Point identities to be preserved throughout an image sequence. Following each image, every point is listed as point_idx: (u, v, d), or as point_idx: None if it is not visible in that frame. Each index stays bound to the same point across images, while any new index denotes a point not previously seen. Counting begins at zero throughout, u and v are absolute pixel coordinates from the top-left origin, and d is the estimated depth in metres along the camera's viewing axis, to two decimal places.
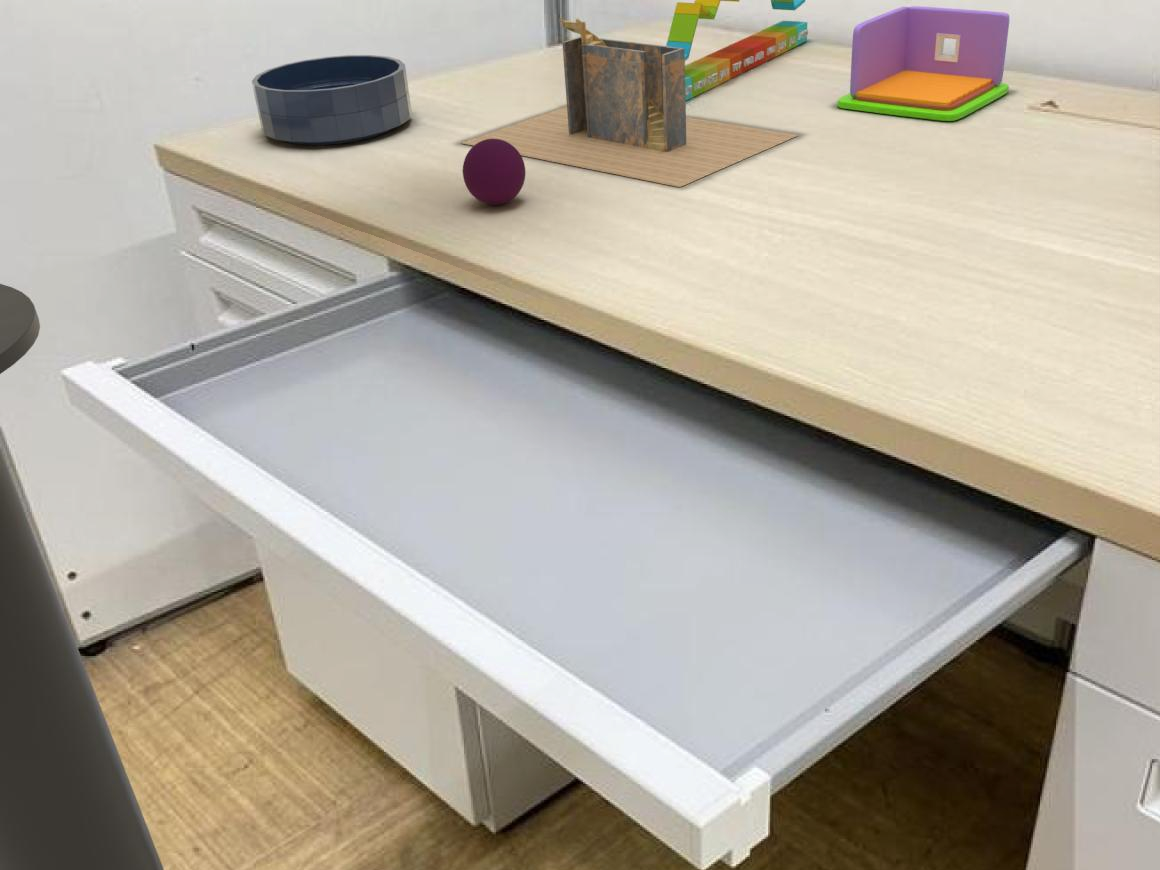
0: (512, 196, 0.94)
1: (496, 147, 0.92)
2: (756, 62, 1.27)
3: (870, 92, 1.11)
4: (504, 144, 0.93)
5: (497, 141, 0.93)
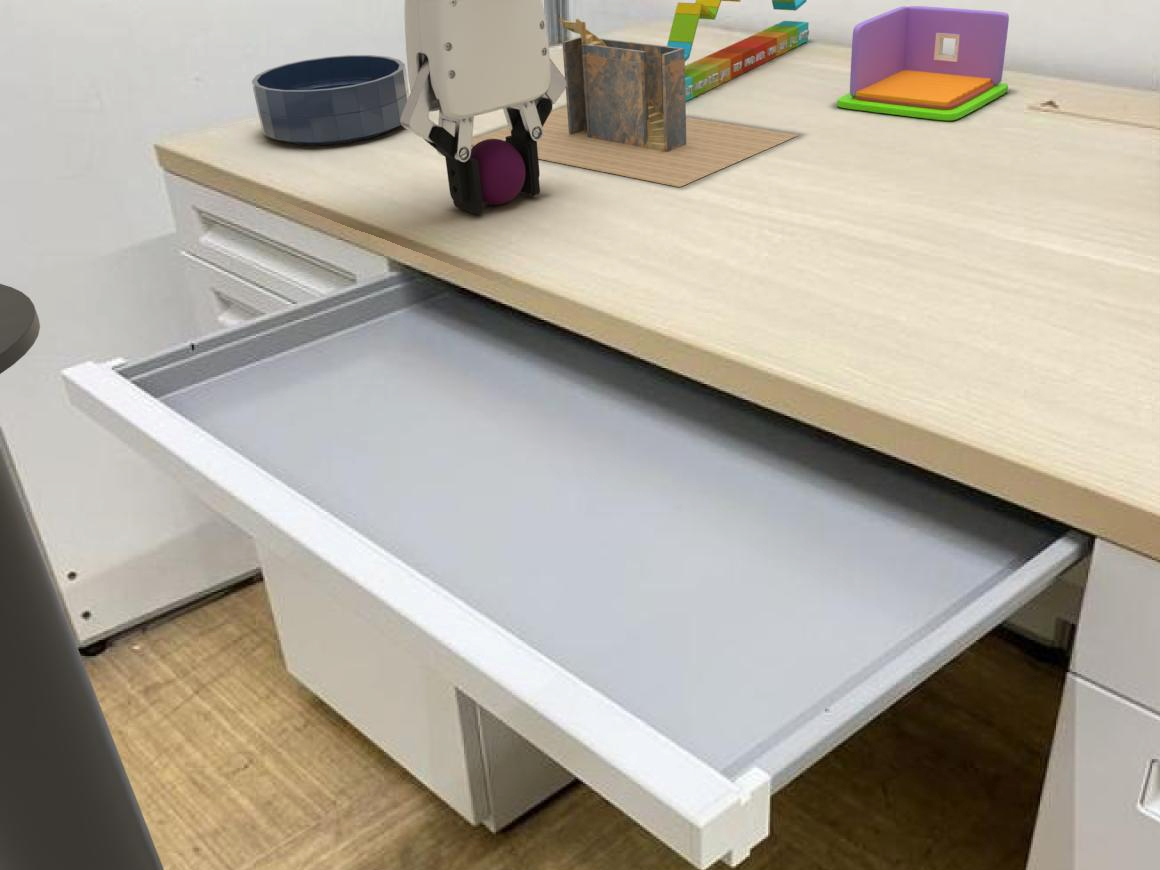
0: (512, 196, 0.94)
1: (497, 148, 0.92)
2: (757, 62, 1.27)
3: (870, 92, 1.11)
4: (504, 144, 0.93)
5: (497, 141, 0.93)
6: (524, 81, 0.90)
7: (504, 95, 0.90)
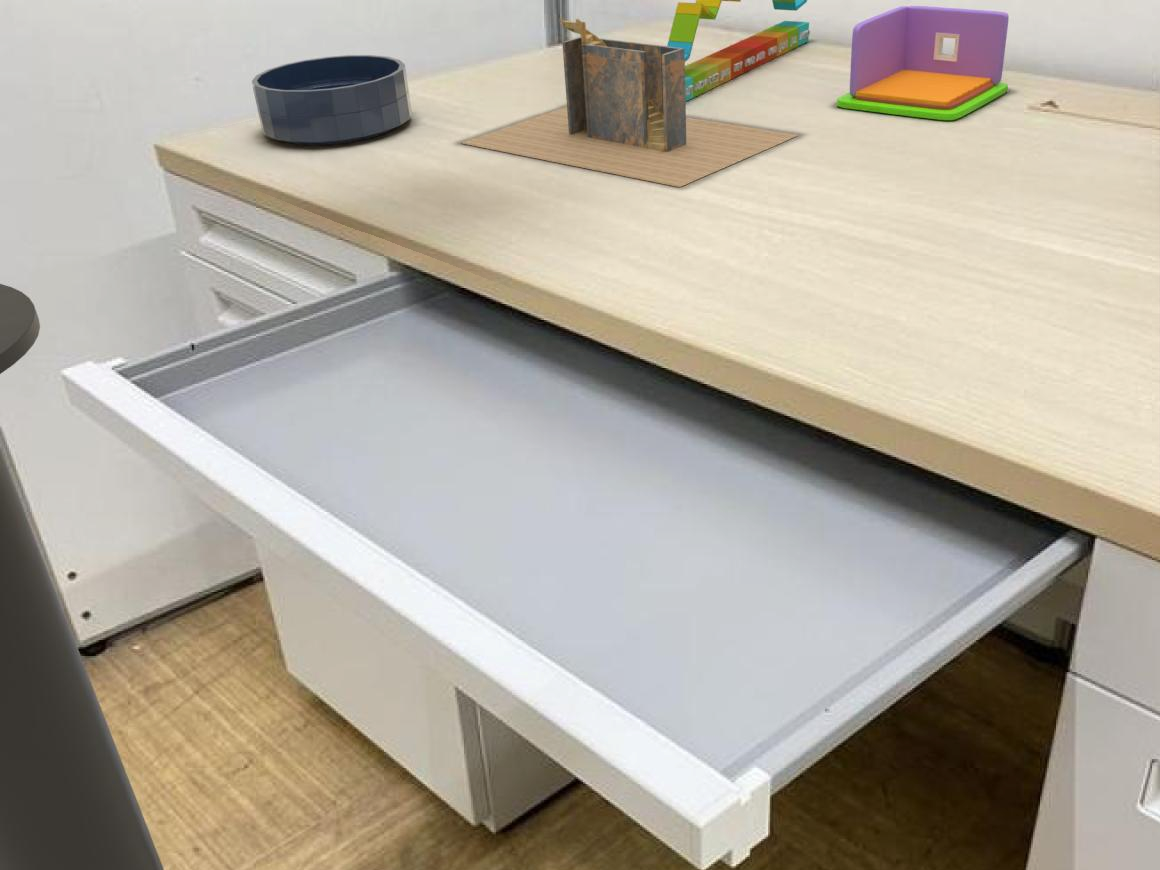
0: None
1: None
2: (758, 62, 1.27)
3: (870, 91, 1.11)
4: None
5: None
6: None
7: None
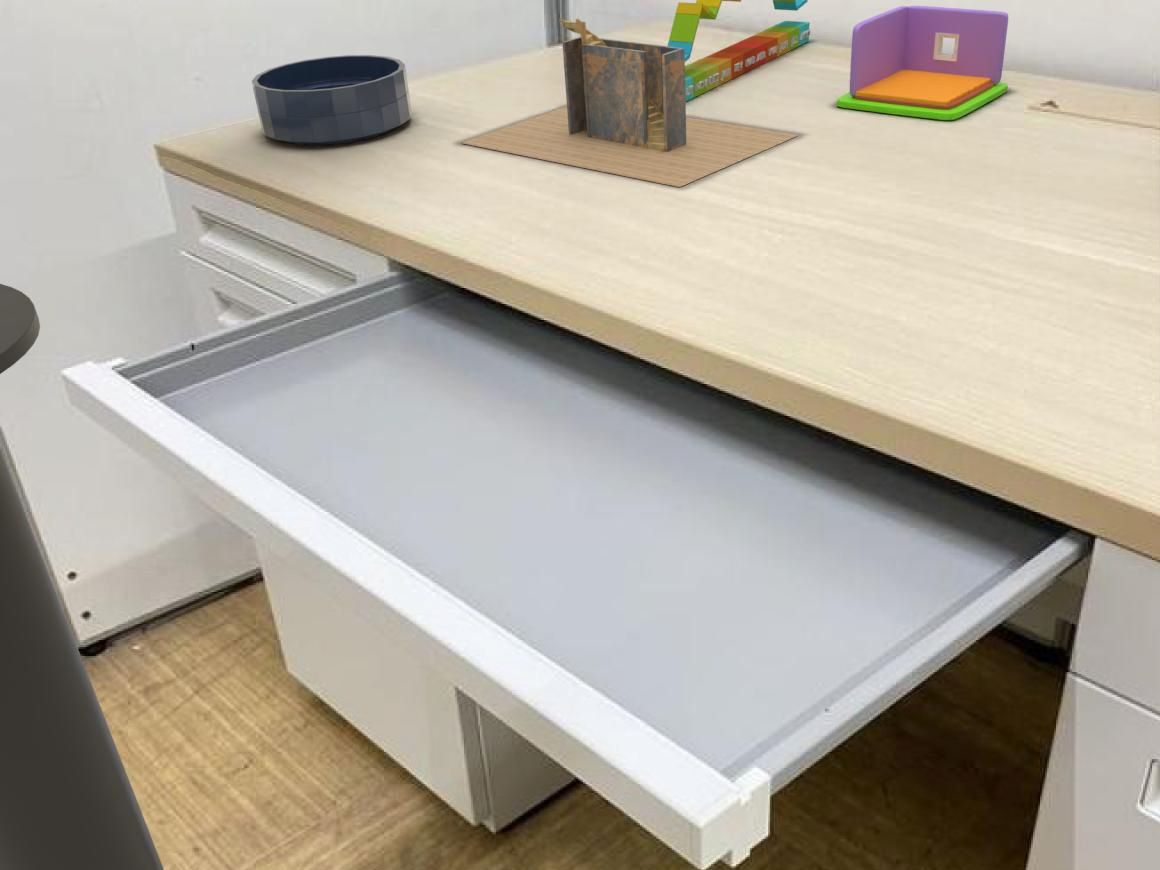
0: None
1: None
2: (758, 62, 1.27)
3: (869, 91, 1.11)
4: None
5: None
6: None
7: None
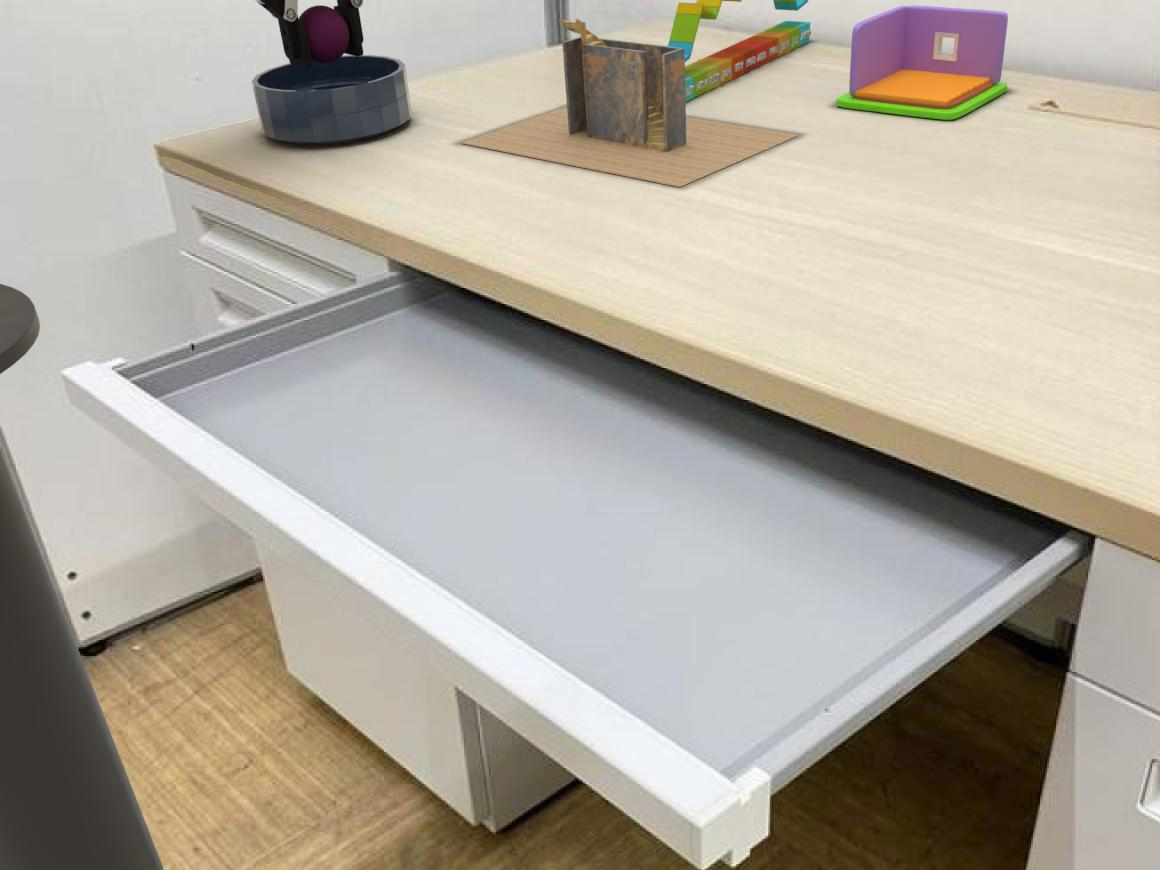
0: (337, 54, 1.13)
1: (321, 11, 1.11)
2: (758, 62, 1.27)
3: (869, 91, 1.11)
4: (328, 9, 1.11)
5: (323, 7, 1.11)
6: None
7: None
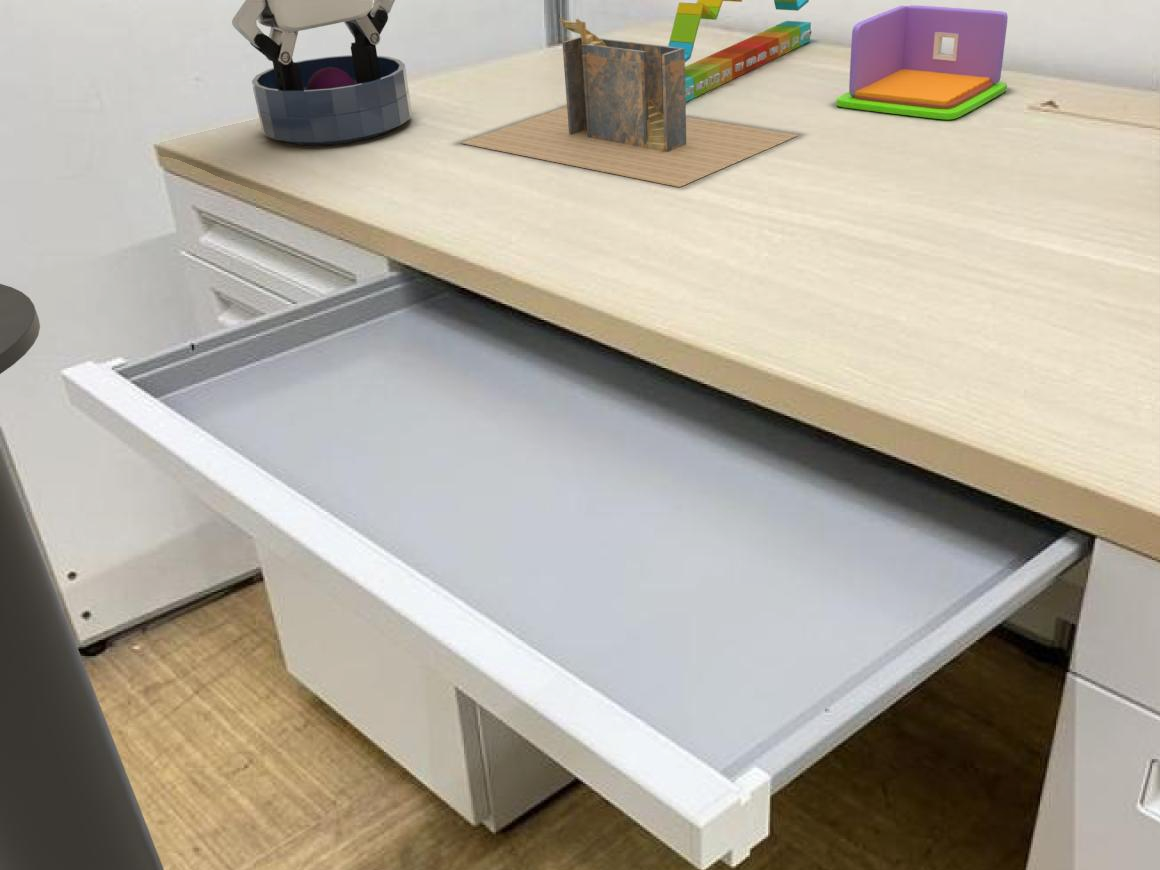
0: None
1: (331, 74, 1.14)
2: (759, 62, 1.27)
3: (869, 91, 1.11)
4: (338, 71, 1.14)
5: (333, 69, 1.14)
6: (348, 1, 1.11)
7: (330, 12, 1.10)
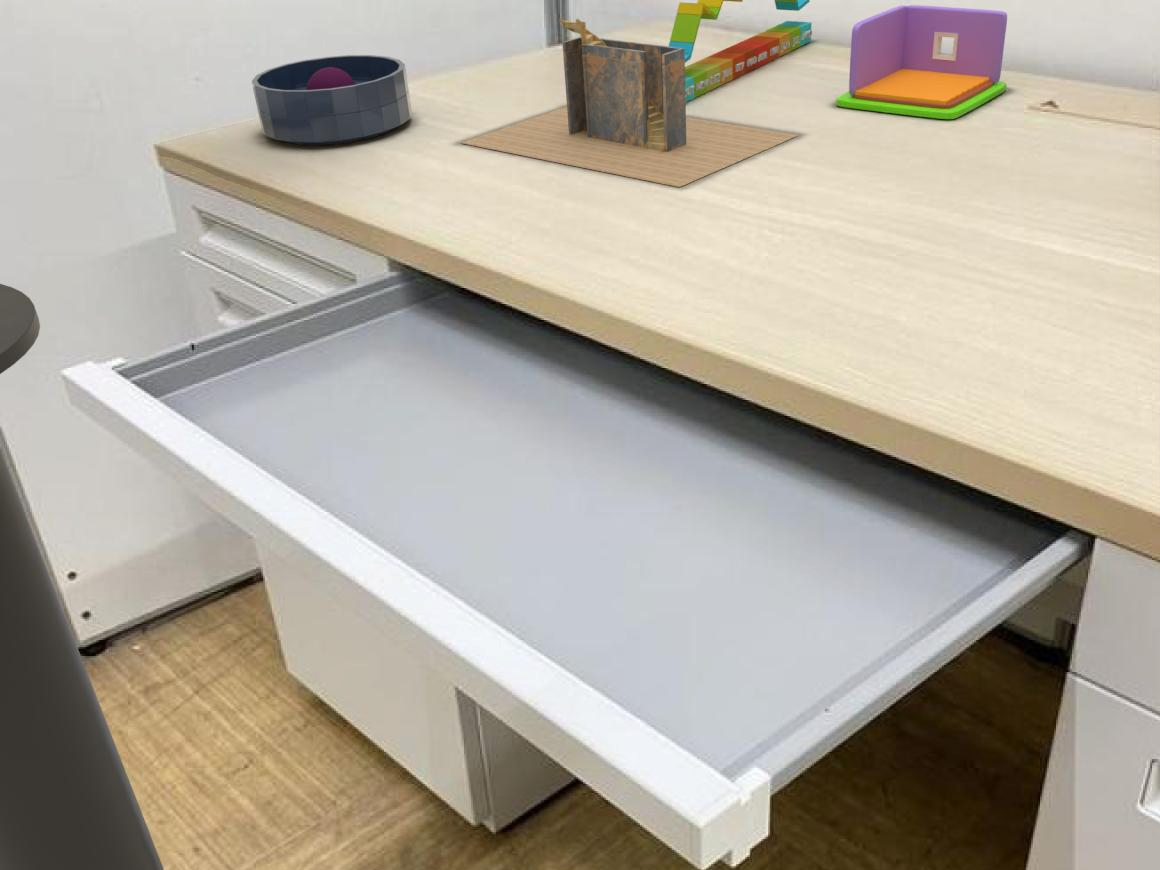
0: None
1: (331, 74, 1.14)
2: (759, 62, 1.27)
3: (869, 91, 1.11)
4: (338, 71, 1.14)
5: (333, 69, 1.14)
6: None
7: None
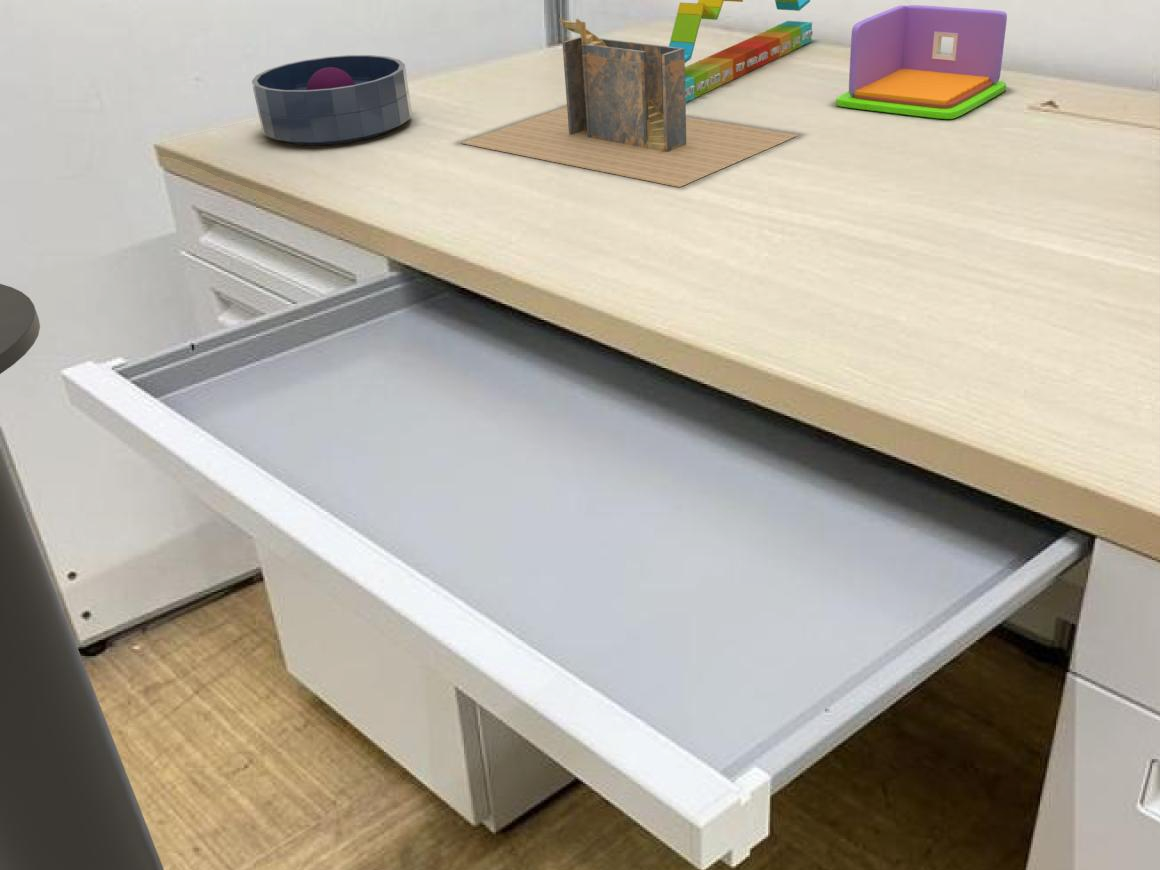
0: None
1: (331, 73, 1.14)
2: (760, 62, 1.27)
3: (869, 90, 1.11)
4: (338, 71, 1.14)
5: (333, 69, 1.14)
6: None
7: None
